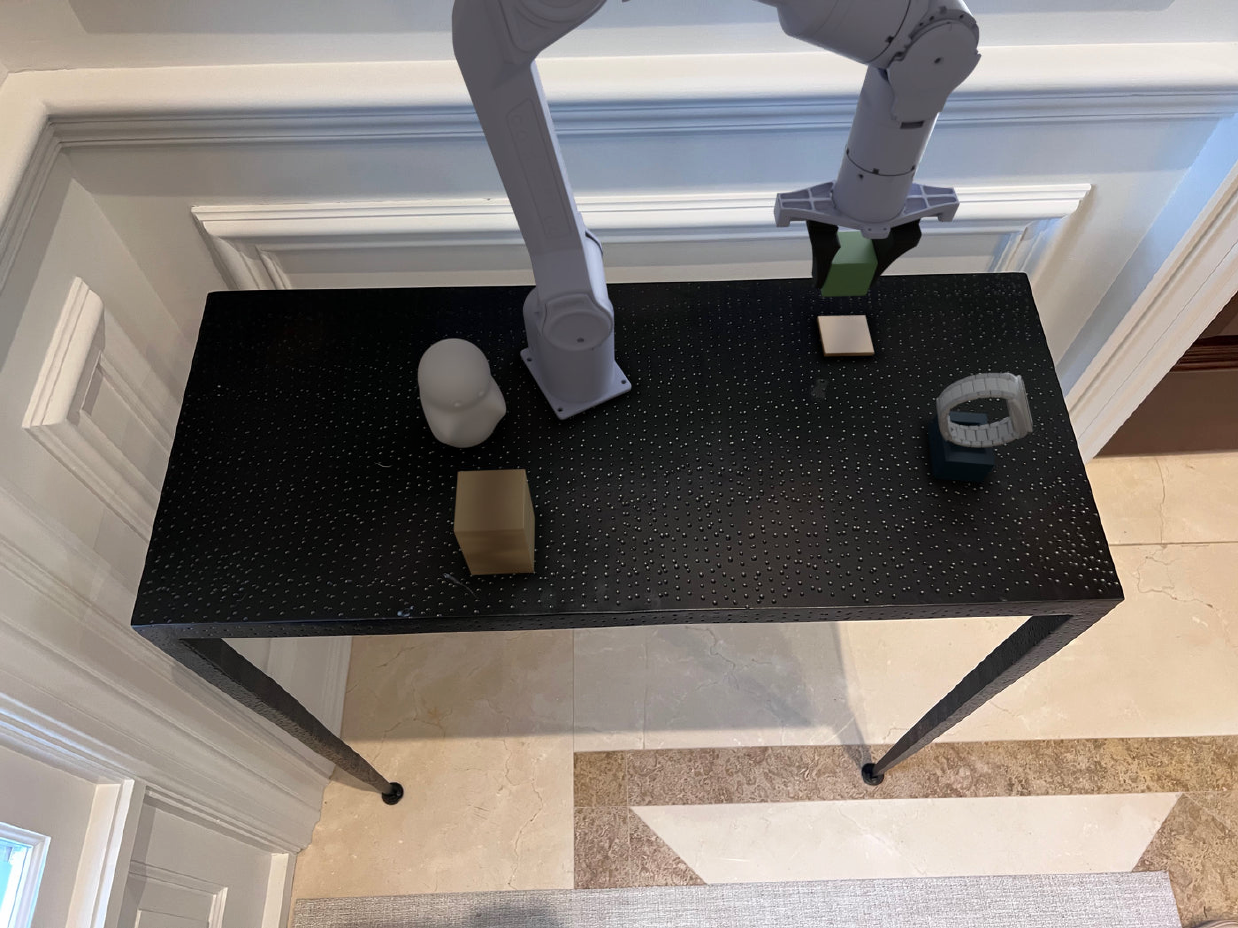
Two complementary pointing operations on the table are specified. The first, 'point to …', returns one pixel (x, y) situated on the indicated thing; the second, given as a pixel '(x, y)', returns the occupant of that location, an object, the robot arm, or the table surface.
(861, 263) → the green block
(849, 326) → the coaster
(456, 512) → the wooden block
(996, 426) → the watch
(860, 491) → the table surface
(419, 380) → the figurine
